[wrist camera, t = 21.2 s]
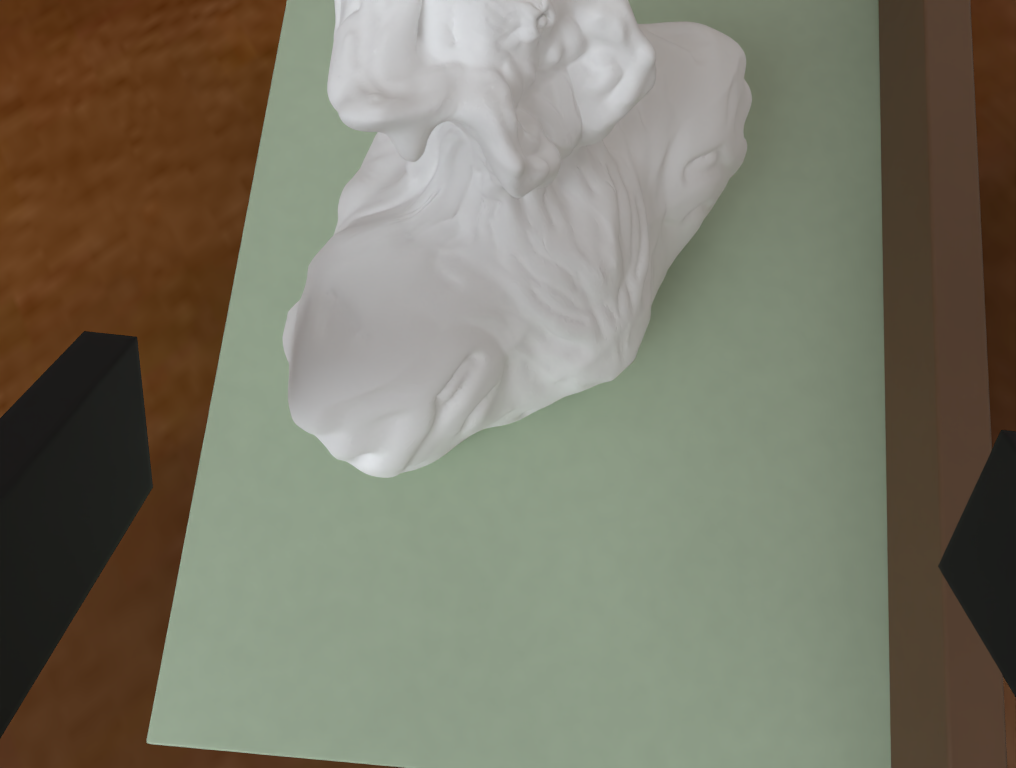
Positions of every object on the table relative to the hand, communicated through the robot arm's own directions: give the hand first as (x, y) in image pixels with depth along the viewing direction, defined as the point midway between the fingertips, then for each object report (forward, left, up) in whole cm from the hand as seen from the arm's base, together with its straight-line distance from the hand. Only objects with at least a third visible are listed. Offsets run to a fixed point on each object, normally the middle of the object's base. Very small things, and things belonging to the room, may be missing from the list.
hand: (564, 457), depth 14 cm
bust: (-4, +4, -7) cm, 9 cm away
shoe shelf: (-2, +5, -12) cm, 13 cm away
